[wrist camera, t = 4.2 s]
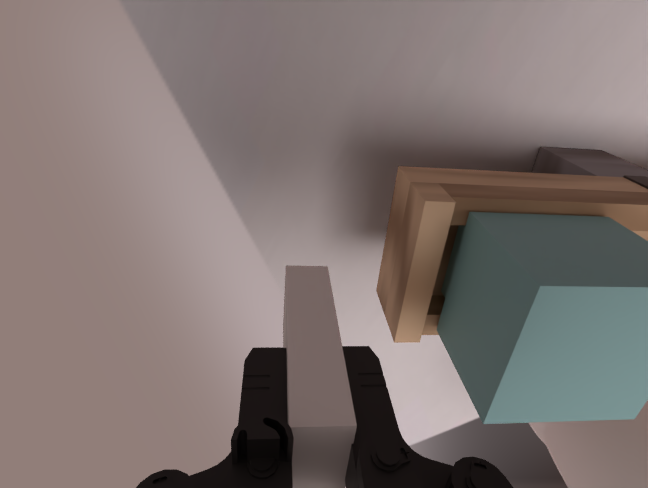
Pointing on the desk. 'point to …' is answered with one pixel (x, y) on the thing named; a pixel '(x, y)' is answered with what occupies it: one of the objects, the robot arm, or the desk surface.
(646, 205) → the beam
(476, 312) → the block
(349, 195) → the desk surface
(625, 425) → the white bottle
